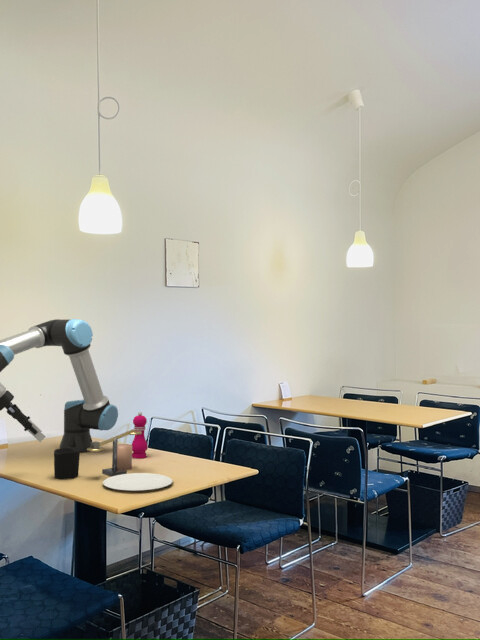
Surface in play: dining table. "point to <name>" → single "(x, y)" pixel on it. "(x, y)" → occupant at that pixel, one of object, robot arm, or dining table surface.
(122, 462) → the tan boxy piece
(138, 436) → the pepper mill
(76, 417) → the robot arm
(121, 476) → the plate
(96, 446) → the balance
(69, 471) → the pen holder
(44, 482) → the dining table surface
